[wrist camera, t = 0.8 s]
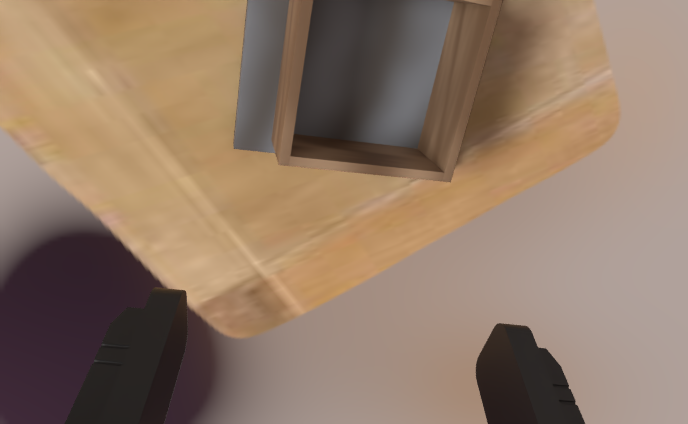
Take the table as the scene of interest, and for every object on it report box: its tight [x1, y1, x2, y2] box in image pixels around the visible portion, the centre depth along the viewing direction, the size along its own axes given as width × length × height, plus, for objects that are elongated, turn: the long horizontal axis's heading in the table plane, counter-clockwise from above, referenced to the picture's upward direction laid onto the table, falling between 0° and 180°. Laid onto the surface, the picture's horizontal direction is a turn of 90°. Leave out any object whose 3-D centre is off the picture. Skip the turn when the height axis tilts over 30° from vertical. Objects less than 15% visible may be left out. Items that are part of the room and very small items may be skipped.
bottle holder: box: [233, 0, 503, 182], centre depth 31 cm, size 16×13×6 cm
